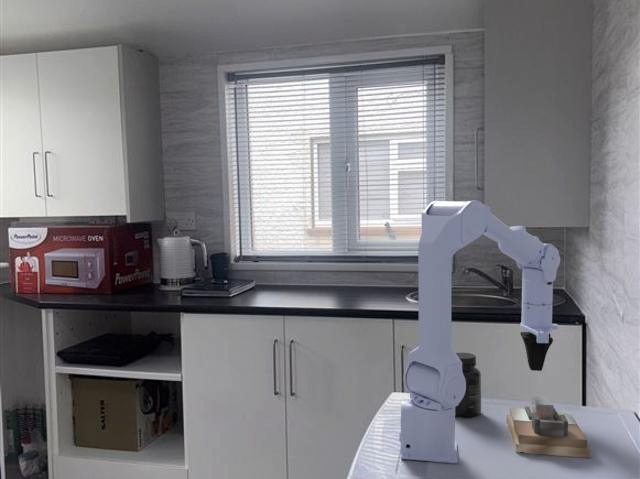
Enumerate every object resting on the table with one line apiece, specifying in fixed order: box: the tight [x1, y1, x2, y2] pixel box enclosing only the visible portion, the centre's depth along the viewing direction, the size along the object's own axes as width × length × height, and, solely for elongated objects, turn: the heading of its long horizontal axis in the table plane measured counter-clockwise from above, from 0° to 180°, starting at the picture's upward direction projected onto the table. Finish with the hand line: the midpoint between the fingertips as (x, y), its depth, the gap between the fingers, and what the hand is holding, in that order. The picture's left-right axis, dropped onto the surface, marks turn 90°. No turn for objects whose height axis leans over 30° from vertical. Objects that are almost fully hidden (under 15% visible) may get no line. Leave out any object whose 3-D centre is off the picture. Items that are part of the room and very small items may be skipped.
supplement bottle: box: [455, 352, 482, 419], centre depth 115 cm, size 7×7×12 cm
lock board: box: [506, 405, 591, 459], centre depth 102 cm, size 12×13×6 cm
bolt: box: [530, 394, 555, 420], centre depth 106 cm, size 3×5×3 cm, turn 168°
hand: (535, 369), depth 113 cm, fingers closed
